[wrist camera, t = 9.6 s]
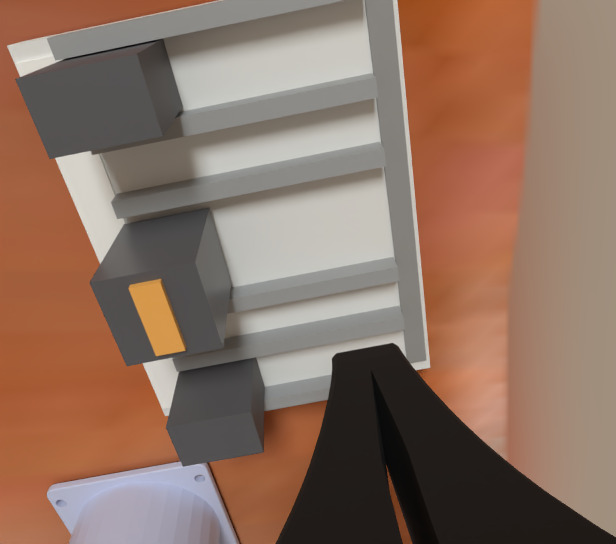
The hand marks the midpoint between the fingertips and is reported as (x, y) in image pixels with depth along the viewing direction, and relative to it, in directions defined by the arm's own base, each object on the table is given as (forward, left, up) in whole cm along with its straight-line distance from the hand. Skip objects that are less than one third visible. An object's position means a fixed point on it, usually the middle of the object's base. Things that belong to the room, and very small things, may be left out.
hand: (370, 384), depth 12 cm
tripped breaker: (0, +5, -8) cm, 10 cm away
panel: (0, +3, -10) cm, 10 cm away
